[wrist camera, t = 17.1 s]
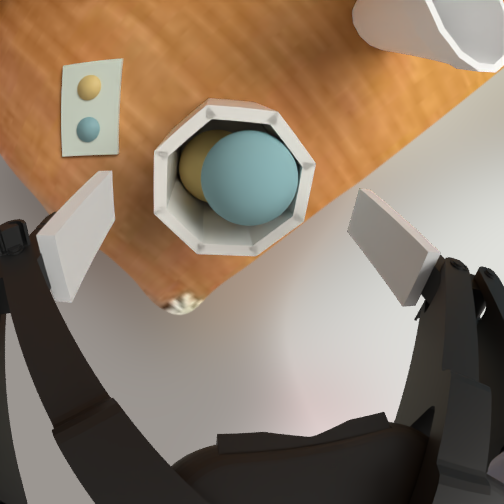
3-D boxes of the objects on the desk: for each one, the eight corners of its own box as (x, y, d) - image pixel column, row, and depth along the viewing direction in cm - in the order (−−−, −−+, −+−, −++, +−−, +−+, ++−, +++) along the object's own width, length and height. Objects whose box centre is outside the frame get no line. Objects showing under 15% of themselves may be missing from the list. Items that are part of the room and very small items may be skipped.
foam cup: (318, 18, 20) (396, -16, 9) (366, -33, 16) (448, -69, 6) (389, 82, 24) (485, 99, 13) (429, 29, 20) (522, 31, 9)
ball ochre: (195, 118, 24) (166, 137, 19) (263, 127, 23) (251, 148, 19) (192, 179, 27) (167, 210, 23) (254, 189, 27) (242, 224, 22)
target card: (64, 65, 19) (62, 65, 18) (123, 58, 20) (121, 58, 19) (64, 155, 23) (61, 157, 23) (118, 153, 25) (117, 154, 24)
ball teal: (176, 137, 17) (258, 112, 14) (236, 143, 22) (308, 129, 18) (186, 233, 18) (270, 232, 15) (244, 220, 23) (317, 218, 19)
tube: (176, 96, 23) (156, 103, 14) (285, 106, 24) (324, 119, 16) (171, 197, 28) (155, 252, 19) (269, 202, 29) (295, 257, 21)
